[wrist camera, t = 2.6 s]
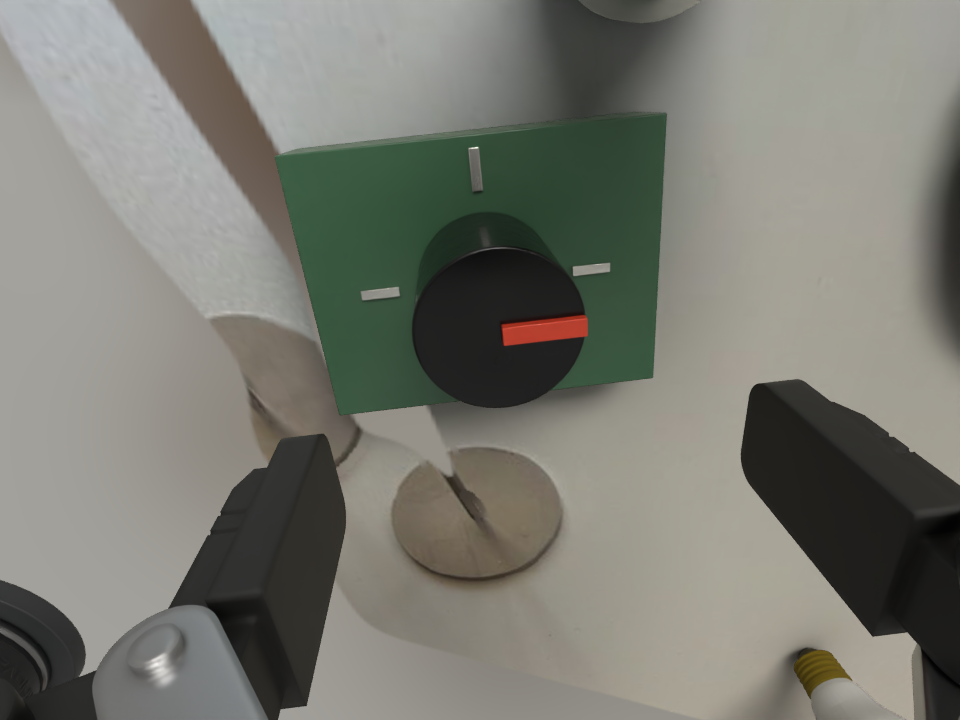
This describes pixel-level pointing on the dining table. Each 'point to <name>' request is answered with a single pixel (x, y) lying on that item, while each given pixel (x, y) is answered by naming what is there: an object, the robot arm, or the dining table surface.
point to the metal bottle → (638, 9)
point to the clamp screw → (495, 312)
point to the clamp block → (466, 190)
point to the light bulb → (836, 690)
